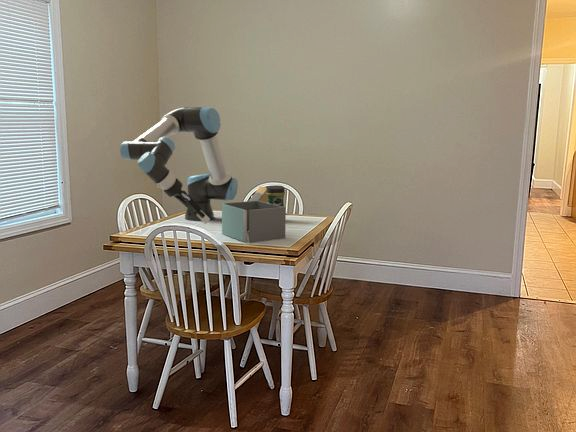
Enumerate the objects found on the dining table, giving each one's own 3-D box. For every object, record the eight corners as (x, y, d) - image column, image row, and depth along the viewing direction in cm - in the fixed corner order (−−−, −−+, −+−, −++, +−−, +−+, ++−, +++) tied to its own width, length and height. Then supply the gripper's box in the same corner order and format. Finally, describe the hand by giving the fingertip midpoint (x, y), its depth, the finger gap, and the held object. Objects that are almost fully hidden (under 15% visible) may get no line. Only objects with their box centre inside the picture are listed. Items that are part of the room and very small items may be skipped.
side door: (244, 242, 235) (244, 210, 232) (222, 233, 252) (221, 204, 250) (247, 241, 235) (247, 210, 233) (224, 233, 253) (224, 204, 250)
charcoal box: (249, 242, 235) (250, 210, 232) (224, 233, 254) (223, 203, 252) (285, 238, 245) (285, 207, 242) (257, 229, 264) (257, 200, 262)
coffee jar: (281, 219, 294) (281, 184, 291) (286, 221, 287) (286, 186, 284) (264, 219, 291) (264, 184, 288) (268, 222, 284) (269, 186, 281)
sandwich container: (237, 214, 309) (236, 187, 306) (260, 212, 317) (260, 186, 315) (245, 216, 302) (245, 189, 299) (268, 214, 311) (268, 187, 308)
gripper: (157, 189, 228) (195, 225, 240) (169, 192, 218) (208, 230, 229) (169, 176, 230) (206, 212, 242) (181, 178, 220) (219, 216, 231)
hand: (207, 221), depth 236 cm, fingers closed
